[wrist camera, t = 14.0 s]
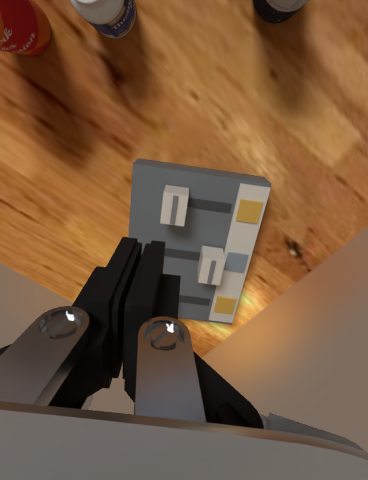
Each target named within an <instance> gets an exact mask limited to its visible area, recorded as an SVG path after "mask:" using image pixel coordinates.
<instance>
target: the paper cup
mask: <svg viewBox="0 0 368 480" xmlns="http://www.w3.org/2000/svg"><path fill="white" fill-rule="evenodd" d="M50 36H51V32H50V25H49V22H48V19H47V17H46V15H45V13H44V12H43V10H42V9H41V8H40V7H39V6H38V5H37V4H36V3H35V2H34V1H33V0H0V50H1V51H6V52H11V53H16V54H22V55H29V56H34V55H39V54H41V53H42V52H44V51H45V49H46V48H47V47H48V45H49V42H50Z"/></svg>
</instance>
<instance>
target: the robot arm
mask: <svg viewBox="0 0 368 480" xmlns="http://www.w3.org/2000/svg"><path fill="white" fill-rule="evenodd" d="M165 243H166V242H163V241H154V240H152V241H151V244H149V243H146V244H145V247H144V250H143V253H142V243H140V242H138V241H137V238H128V237H123V238H122V239H121V241H120V243H119V245H118V246H117V248H116V250H115V252H114V254H113V256H112V257H111V259H110V261H109V263H108V265H107V266H106V267H99V266H98V267H96V268H95V269H94V271H93V272H92V274H91V276H90V277H89V279H88V281H87V282H86V284H85V285H84V287H83V289H82V290H81V292H80V294H79V295H78V297H77V298H76V300H75V302H74V303H73V305H72V306H65V307H58V308H54V309H51V310H49V311H47V312H45V313H43V314H42V315H41V316H40V317H38V318H37V319H36V320H35V321H34V322H33V324H31V325H30V326H29V327H28V328H27V329H26V330H25V332H23V333H22V335H20V337H19V338H17V340H16V341H15V342H14V343H13V344H10V345H8V346H5V347H3V348H1V349H0V480H368V453H367V452H366V451H364V450H363V449H362V448H361V447H360V446H358V445H357V444H356V443H354V442H352V441H350V440H348V439H346V438H344V437H341V436H338V435H335V434H332V433H329V432H326V431H323V430H320V429H317V428H314V427H311V426H308V425H305V424H302V423H299V422H296V421H293V420H290V419H287V418H284V417H281V416H278V415H275V414H272V413H269V416H268V417H267V416H264V415H261V414H259V413H258V411H257V410H256V409H255V408H254V407H253V405H252V404H251V403H250V402H249V401H247V399H245V398H244V397H243V396H242V395H241V394H240V393H239V392H238V391H236V390H235V389H234V388H233V387H232V386H231V385H230V384H229V383H228V382H227V381H226V380H225V379H223V378H222V377H221V376H220V375H219V374H218V373H217V372H216V371H215V370H214V369H212V368H211V367H210V366H209V365H208V364H207V363H206V362H205V361H204V360H202V359H201V358H200V357H199V356H198V355H197V354H196V353H195V352H194V351H193V347H192V342H191V336H190V333H189V330H188V328H187V327H186V326H185V325H184V323H182V322H180V321H179V320H178V307H179V294H180V281H181V276H179V275H170V274H163V266H164V255H165ZM122 363H123V379H125V388H124V390H125V391H126V392H127V394H128V395H129V396H130V398H131V399H132V400H133V402H134V403H135V406H134V415H132V414H122V413H112V412H103V411H93V410H88V409H89V407H90V405H91V402H92V399H93V394H94V393H95V392H97V391H99V390H100V389H102V388H109V387H110V384H111V381H112V378H118V376H119V374H120V370H121V366H122Z"/></svg>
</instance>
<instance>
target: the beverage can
mask: <svg viewBox="0 0 368 480" xmlns="http://www.w3.org/2000/svg"><path fill="white" fill-rule="evenodd" d="M308 1H309V0H253V3H254V7H255V9H256V11H257V13H258V14H259V16H260V17H261V18H262V19H264V20H265V21H267V22H270V23H280V22H283V21H286V20H287V19H289V18H290V17H291V16H293V15H294V14H295V13H296V12H297V11H298V10H299V9H300V8H301V7H303V6H304V5H305V4H306V3H307V2H308Z"/></svg>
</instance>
